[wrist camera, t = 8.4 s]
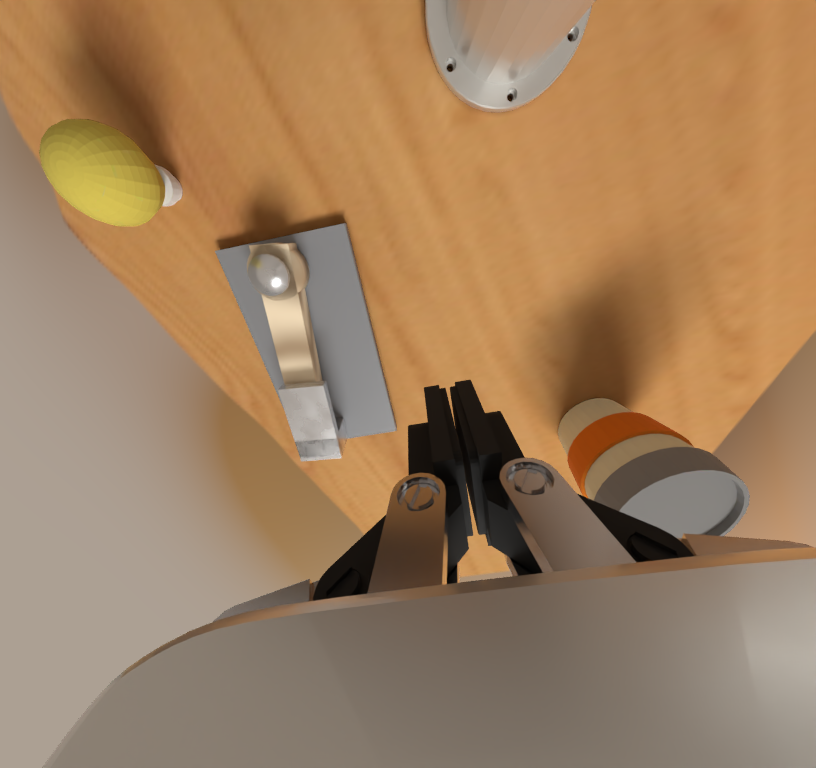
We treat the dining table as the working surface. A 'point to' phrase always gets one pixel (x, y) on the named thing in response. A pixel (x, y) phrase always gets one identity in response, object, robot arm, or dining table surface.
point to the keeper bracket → (313, 421)
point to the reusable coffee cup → (649, 471)
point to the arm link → (291, 317)
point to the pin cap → (268, 274)
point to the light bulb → (105, 173)
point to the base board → (325, 326)
